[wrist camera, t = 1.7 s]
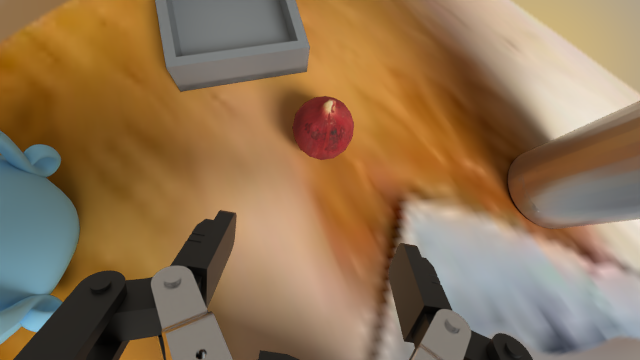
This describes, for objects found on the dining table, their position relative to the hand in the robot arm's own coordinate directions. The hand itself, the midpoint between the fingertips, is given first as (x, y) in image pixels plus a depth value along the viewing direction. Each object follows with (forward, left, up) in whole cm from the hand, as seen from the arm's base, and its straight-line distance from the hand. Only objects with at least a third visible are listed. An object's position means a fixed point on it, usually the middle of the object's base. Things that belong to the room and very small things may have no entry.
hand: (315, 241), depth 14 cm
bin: (+1, -26, -15) cm, 30 cm away
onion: (-5, -10, -15) cm, 19 cm away
